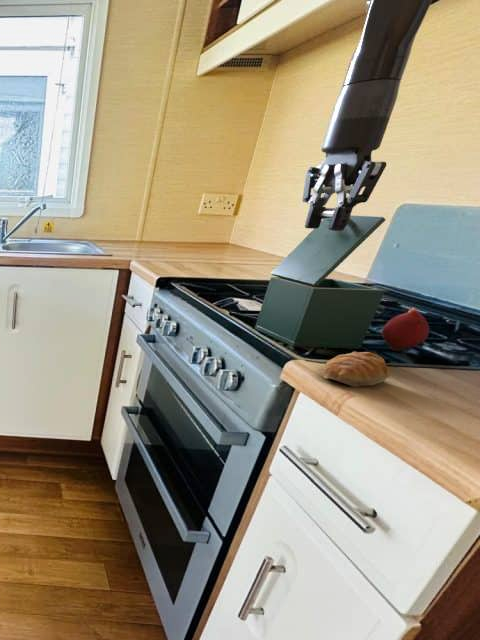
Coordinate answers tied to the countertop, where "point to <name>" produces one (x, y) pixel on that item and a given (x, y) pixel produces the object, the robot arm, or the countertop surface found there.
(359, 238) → the lid
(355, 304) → the box
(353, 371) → the pastry
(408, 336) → the onion
